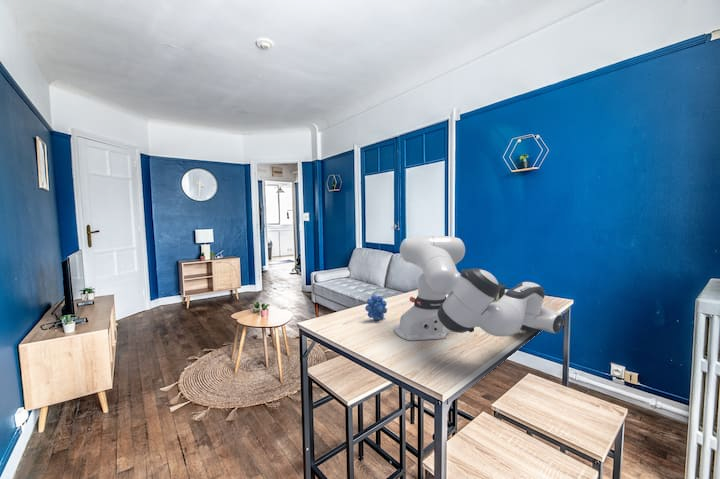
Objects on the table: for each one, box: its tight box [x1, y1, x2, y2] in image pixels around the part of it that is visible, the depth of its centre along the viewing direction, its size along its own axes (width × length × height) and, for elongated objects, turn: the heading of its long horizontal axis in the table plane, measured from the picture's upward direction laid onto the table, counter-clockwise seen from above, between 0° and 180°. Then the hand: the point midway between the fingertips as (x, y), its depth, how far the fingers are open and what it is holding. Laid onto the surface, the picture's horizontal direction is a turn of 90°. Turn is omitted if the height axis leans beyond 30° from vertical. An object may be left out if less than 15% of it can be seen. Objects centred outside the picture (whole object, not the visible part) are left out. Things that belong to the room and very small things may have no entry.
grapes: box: [364, 294, 388, 321], centre depth 141 cm, size 12×7×12 cm, turn 122°
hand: (501, 303), depth 144 cm, fingers closed
